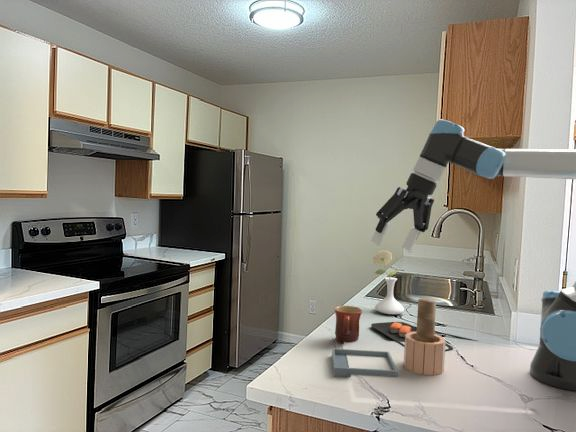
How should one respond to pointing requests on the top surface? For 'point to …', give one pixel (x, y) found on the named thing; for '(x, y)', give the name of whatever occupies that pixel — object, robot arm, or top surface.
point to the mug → (347, 323)
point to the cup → (424, 355)
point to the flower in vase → (388, 302)
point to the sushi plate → (403, 331)
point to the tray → (343, 368)
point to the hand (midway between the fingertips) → (390, 246)
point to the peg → (426, 320)
